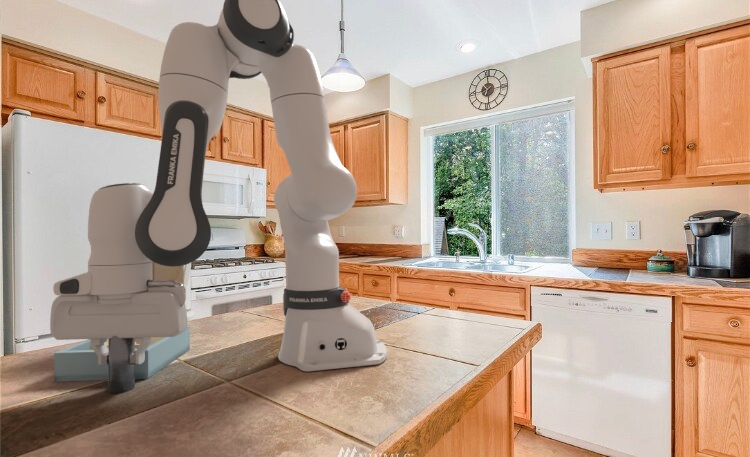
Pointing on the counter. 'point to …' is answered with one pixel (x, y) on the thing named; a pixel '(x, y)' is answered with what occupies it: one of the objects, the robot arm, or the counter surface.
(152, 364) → the bin
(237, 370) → the counter surface
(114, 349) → the peg
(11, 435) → the counter surface
